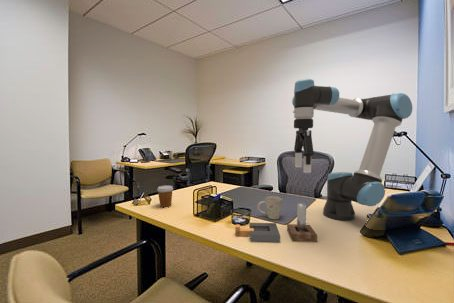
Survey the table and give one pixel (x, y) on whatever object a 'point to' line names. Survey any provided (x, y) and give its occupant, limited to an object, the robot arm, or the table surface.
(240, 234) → the wooden block
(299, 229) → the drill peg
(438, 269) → the table surface
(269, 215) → the mug
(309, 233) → the block
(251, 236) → the socket block
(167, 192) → the disposable coffee cup
